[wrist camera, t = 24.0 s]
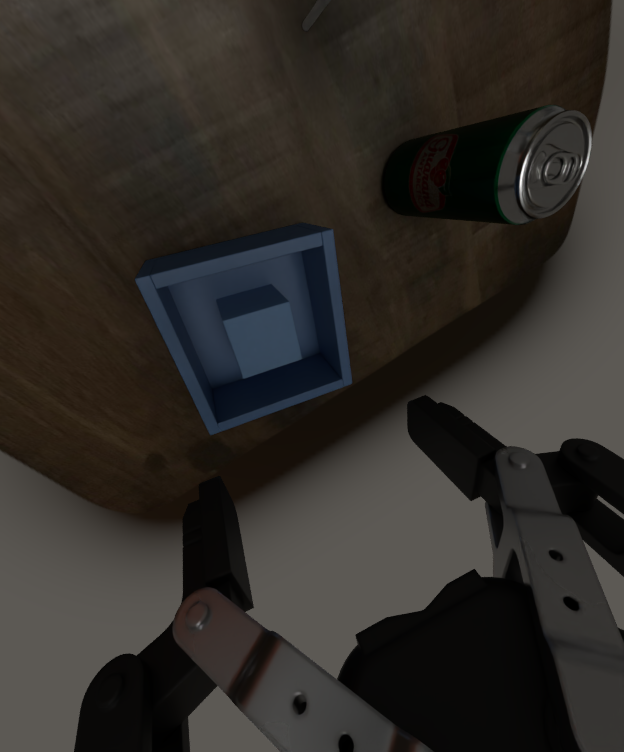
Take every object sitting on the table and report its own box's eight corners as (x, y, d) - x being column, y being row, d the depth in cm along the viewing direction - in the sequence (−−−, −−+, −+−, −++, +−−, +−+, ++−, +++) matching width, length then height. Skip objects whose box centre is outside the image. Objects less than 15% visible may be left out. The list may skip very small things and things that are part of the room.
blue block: (233, 350, 26) (243, 379, 22) (215, 299, 23) (222, 321, 19) (284, 334, 26) (302, 359, 22) (271, 283, 24) (289, 301, 20)
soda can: (384, 137, 23) (538, 92, 13) (441, 141, 24) (617, 104, 14) (376, 215, 25) (500, 227, 15) (428, 215, 27) (571, 225, 17)
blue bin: (205, 394, 28) (210, 435, 23) (145, 260, 21) (134, 278, 17) (325, 354, 30) (352, 383, 25) (303, 222, 24) (333, 228, 19)
